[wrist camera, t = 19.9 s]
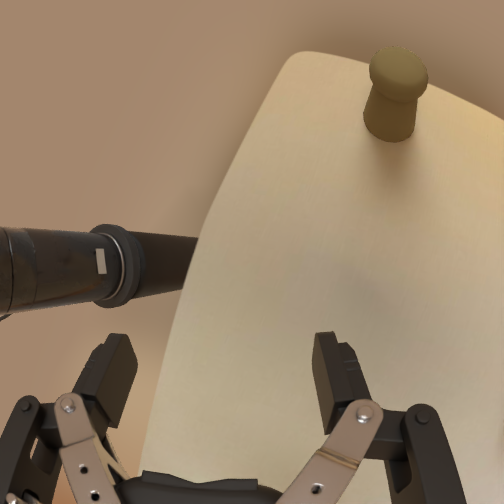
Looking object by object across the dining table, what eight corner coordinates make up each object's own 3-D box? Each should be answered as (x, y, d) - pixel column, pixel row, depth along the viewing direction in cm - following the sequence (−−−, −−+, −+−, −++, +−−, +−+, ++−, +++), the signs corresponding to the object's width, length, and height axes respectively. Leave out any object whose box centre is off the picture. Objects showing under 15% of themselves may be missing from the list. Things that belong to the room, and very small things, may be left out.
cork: (413, 148, 27) (437, 101, 17) (360, 136, 29) (361, 83, 19) (415, 102, 27) (434, 45, 16) (365, 91, 29) (366, 31, 18)
